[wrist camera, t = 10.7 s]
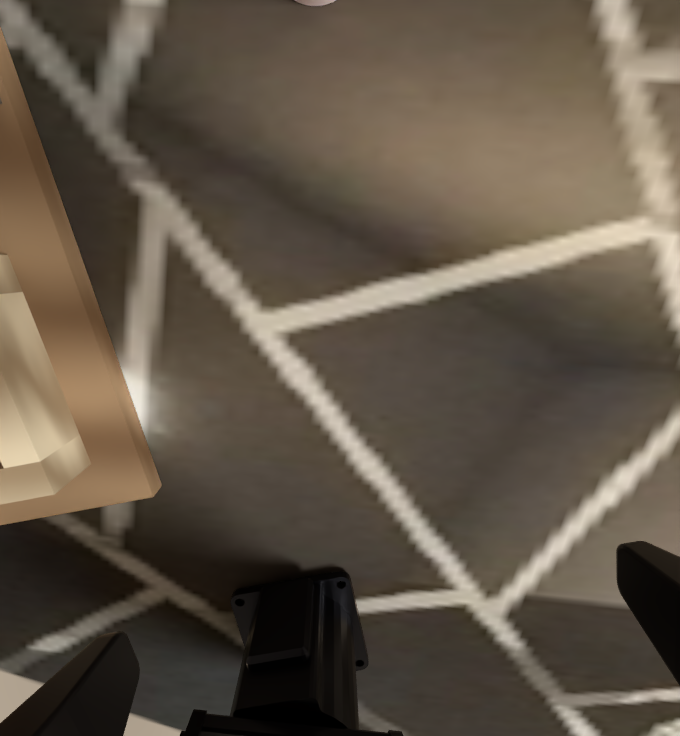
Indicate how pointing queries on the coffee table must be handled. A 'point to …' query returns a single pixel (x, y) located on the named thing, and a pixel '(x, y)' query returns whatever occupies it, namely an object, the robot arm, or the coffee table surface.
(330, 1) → the smoothie
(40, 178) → the socket board
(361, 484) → the coffee table surface
